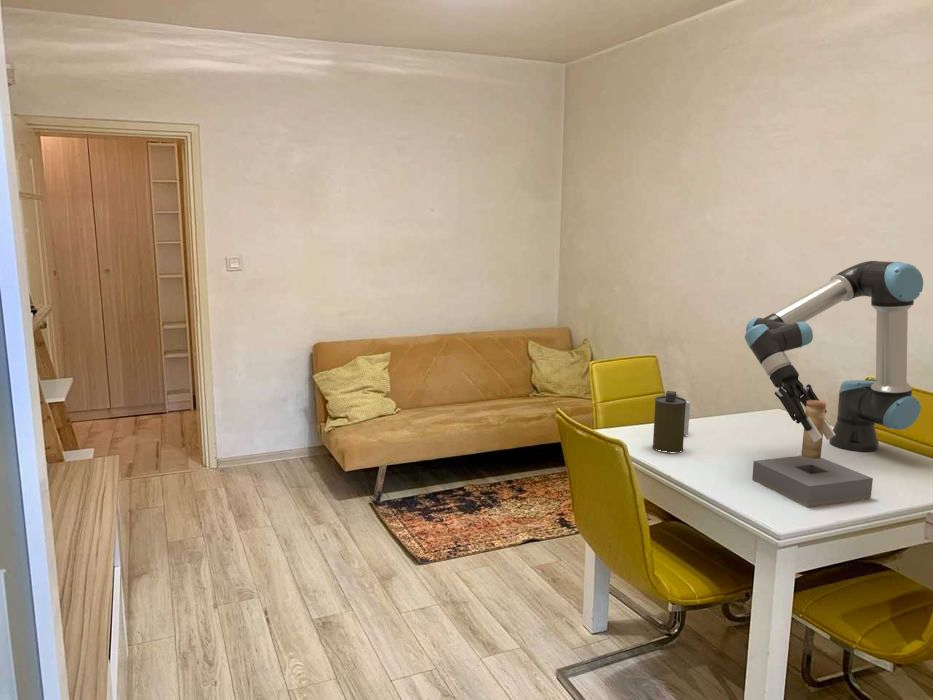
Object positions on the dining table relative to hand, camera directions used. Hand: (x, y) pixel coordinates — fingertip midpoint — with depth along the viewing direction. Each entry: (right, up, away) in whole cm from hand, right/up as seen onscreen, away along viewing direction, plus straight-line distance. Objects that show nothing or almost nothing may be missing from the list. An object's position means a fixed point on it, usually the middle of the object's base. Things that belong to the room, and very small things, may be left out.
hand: (824, 438), depth 200 cm
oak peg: (-2, -6, +4) cm, 7 cm away
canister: (-32, -9, +43) cm, 54 cm away
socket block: (-1, -15, +6) cm, 17 cm away
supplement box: (-24, -6, +61) cm, 66 cm away
